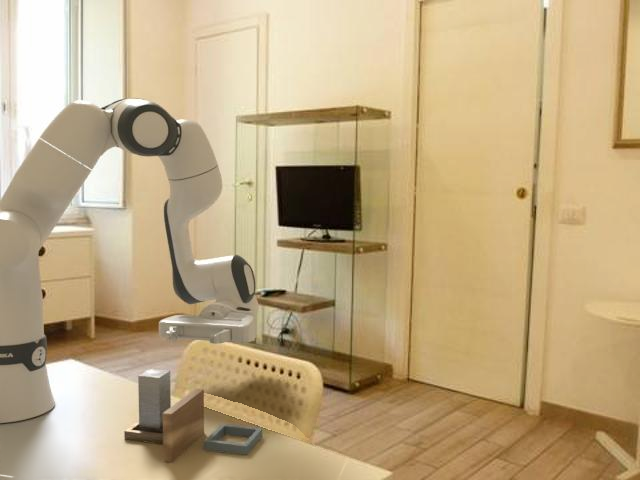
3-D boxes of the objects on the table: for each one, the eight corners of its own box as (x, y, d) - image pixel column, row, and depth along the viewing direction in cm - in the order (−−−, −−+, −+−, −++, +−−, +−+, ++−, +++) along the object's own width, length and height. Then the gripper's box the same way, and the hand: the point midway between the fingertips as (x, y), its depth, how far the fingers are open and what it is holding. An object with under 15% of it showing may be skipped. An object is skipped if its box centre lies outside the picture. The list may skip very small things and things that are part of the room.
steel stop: (139, 436, 108) (138, 375, 107) (150, 427, 112) (150, 368, 111) (159, 439, 107) (159, 377, 106) (170, 430, 111) (170, 370, 110)
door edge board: (163, 461, 99) (162, 413, 98) (196, 431, 110) (195, 388, 109) (171, 462, 98) (171, 414, 98) (204, 432, 110) (203, 389, 109)
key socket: (124, 439, 107) (124, 431, 107) (147, 422, 114) (147, 414, 114) (164, 444, 105) (164, 435, 105) (184, 427, 112) (184, 419, 112)
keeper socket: (204, 449, 103) (204, 441, 103) (222, 431, 110) (222, 423, 110) (246, 455, 101) (246, 446, 101) (262, 436, 109) (262, 428, 108)
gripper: (175, 305, 137) (143, 319, 124) (262, 310, 132) (238, 325, 119) (176, 333, 138) (144, 350, 124) (262, 338, 133) (238, 357, 119)
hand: (190, 338), depth 121 cm, fingers open, 8 cm apart
